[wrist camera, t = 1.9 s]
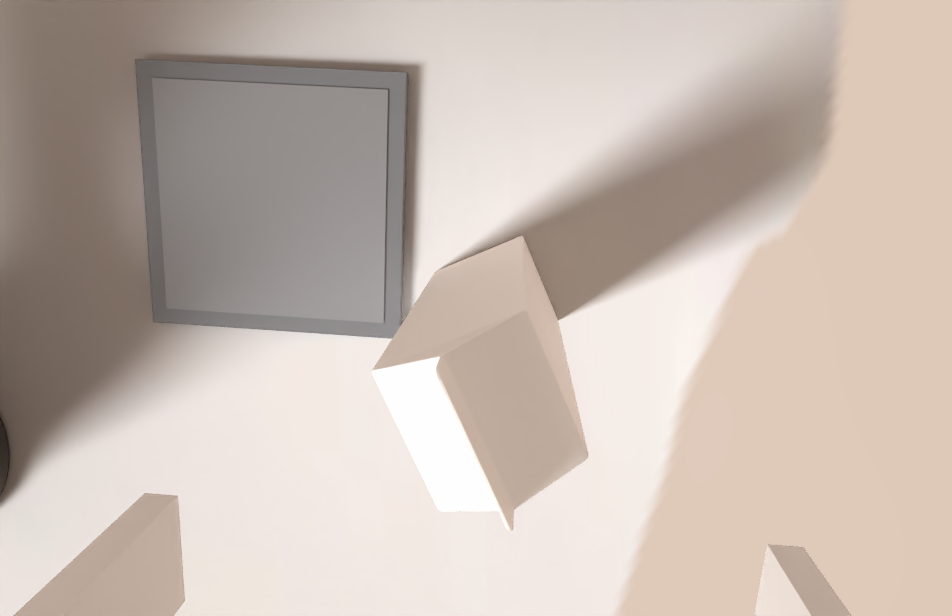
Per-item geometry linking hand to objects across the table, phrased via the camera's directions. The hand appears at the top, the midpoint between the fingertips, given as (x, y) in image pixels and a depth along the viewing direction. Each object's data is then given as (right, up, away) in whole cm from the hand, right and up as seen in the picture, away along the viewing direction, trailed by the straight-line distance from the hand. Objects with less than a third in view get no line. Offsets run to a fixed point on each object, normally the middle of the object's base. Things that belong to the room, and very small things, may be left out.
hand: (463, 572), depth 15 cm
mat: (-12, +12, +26) cm, 32 cm away
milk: (+2, +7, +27) cm, 28 cm away
